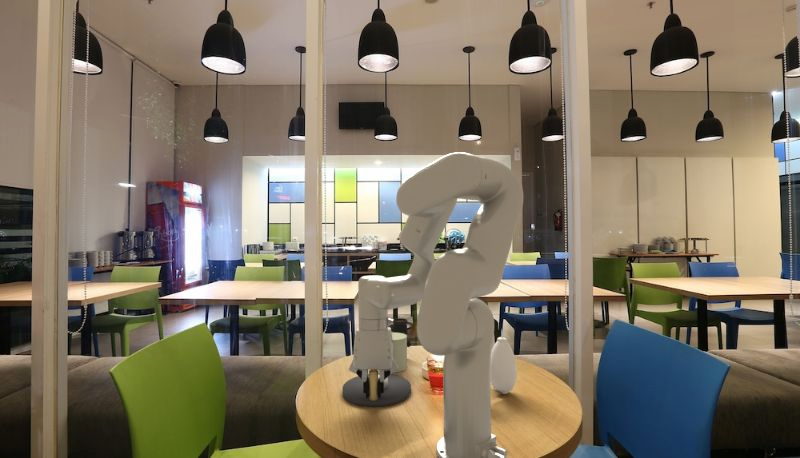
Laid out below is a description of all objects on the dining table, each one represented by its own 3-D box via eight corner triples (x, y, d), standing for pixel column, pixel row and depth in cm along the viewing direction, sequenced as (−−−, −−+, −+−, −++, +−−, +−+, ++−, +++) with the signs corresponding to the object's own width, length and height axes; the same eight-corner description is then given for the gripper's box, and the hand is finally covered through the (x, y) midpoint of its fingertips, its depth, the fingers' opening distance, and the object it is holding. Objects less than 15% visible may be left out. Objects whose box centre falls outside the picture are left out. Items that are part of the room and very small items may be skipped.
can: (375, 368, 124) (375, 333, 124) (400, 364, 128) (400, 329, 128) (386, 378, 116) (385, 339, 116) (412, 373, 120) (412, 336, 120)
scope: (387, 316, 141) (412, 317, 138) (387, 353, 140) (413, 355, 138) (380, 321, 133) (408, 322, 130) (381, 360, 133) (408, 362, 130)
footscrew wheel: (425, 391, 103) (425, 360, 103) (371, 414, 90) (371, 379, 90) (381, 373, 116) (381, 346, 117) (329, 390, 104) (329, 360, 104)
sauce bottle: (517, 400, 99) (516, 333, 100) (487, 396, 102) (486, 331, 102) (517, 389, 107) (516, 326, 107) (489, 385, 109) (489, 324, 110)
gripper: (404, 320, 99) (405, 389, 99) (344, 320, 99) (345, 389, 99) (404, 327, 91) (404, 402, 91) (339, 327, 92) (339, 402, 92)
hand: (373, 395), depth 95 cm, fingers closed on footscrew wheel, 2 cm apart
